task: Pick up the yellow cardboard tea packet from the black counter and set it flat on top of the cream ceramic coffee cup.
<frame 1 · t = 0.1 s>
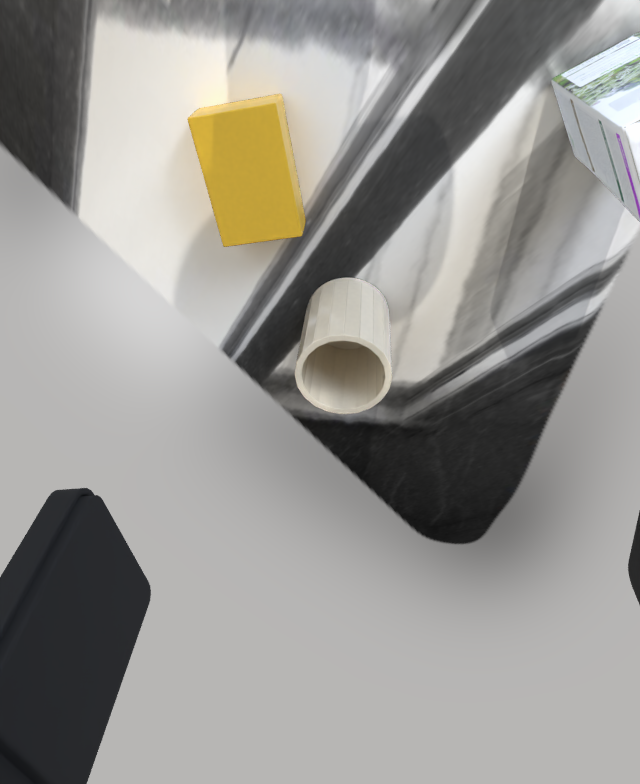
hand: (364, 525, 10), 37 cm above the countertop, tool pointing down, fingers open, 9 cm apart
packet: (254, 167, 43), on the countertop
syrup box: (603, 95, 38), on the countertop
cup: (347, 315, 50), on the countertop
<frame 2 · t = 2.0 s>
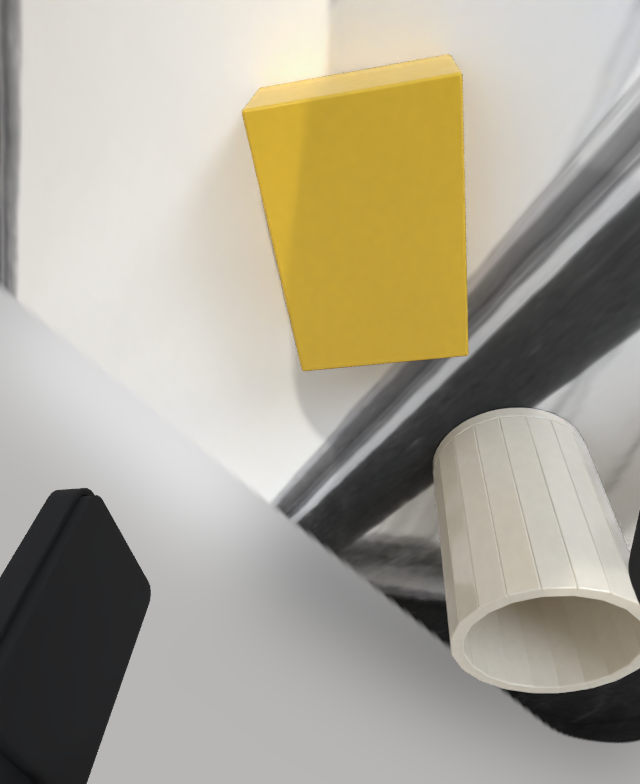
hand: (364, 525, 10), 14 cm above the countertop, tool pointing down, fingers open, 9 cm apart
packet: (369, 212, 21), on the countertop
cup: (507, 464, 28), on the countertop
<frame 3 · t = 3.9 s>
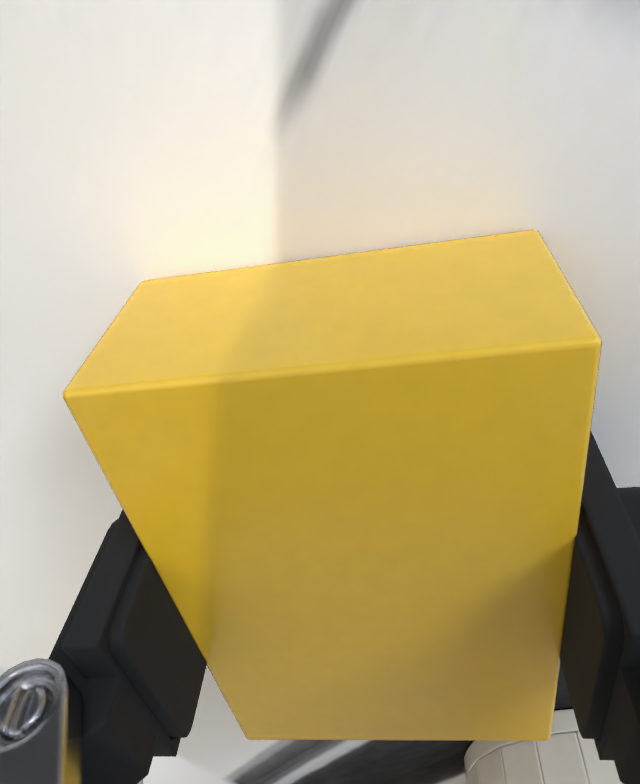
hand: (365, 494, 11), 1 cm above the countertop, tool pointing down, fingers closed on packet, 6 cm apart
packet: (365, 471, 11), on the countertop, touching gripper
cup: (579, 761, 18), on the countertop
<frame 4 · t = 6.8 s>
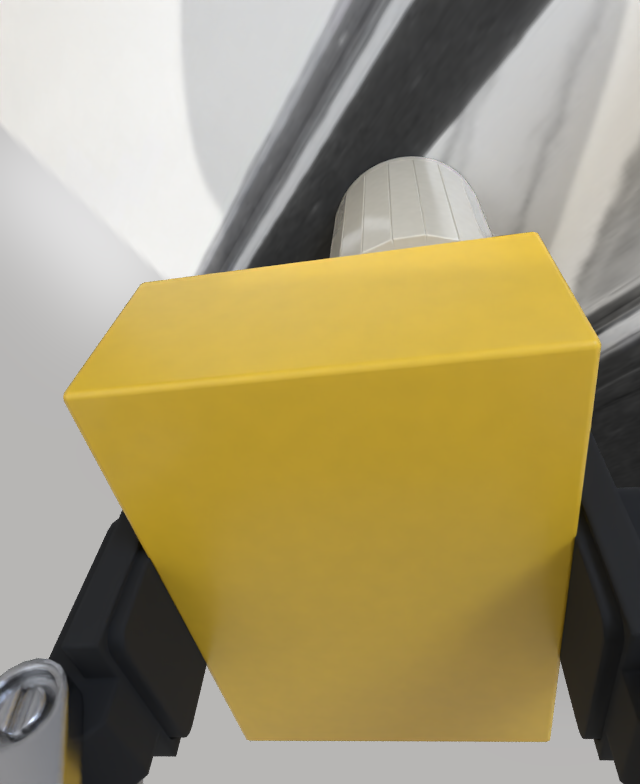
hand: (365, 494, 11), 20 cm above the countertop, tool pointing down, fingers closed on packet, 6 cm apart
packet: (365, 472, 11), point 19 cm above the countertop, touching gripper
cup: (406, 231, 28), on the countertop
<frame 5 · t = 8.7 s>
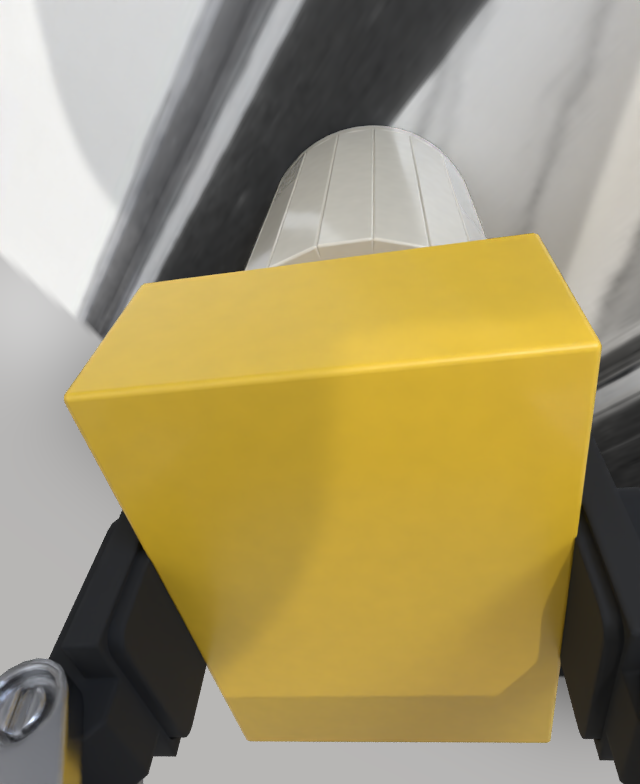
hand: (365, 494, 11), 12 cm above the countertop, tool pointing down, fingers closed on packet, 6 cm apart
packet: (366, 473, 11), point 11 cm above the countertop, touching gripper
cup: (369, 232, 20), on the countertop
when the fingers open (10 cm above the countertop, at t = 9.9 s): packet stays where it is, resting on cup.
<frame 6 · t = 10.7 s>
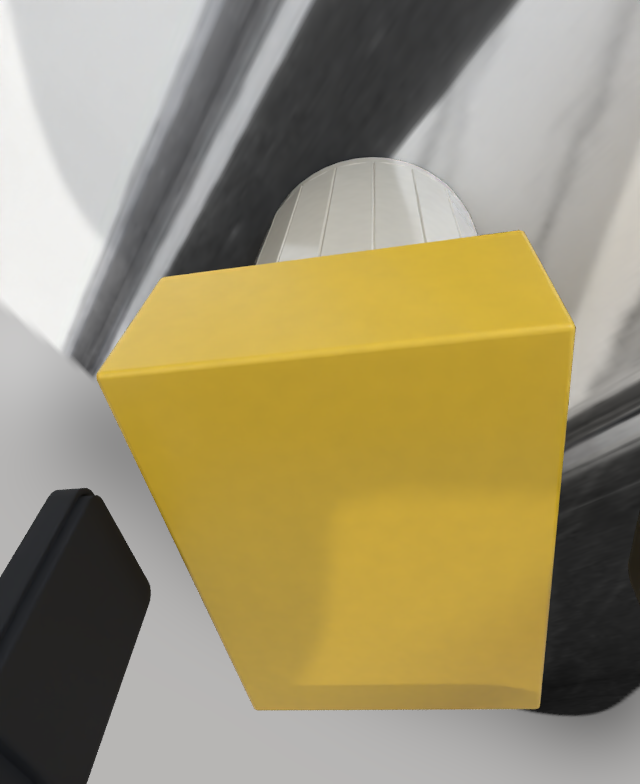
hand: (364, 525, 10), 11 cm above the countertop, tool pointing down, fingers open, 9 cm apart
packet: (366, 456, 12), point 9 cm above the countertop, touching cup
cup: (369, 267, 19), on the countertop, touching packet
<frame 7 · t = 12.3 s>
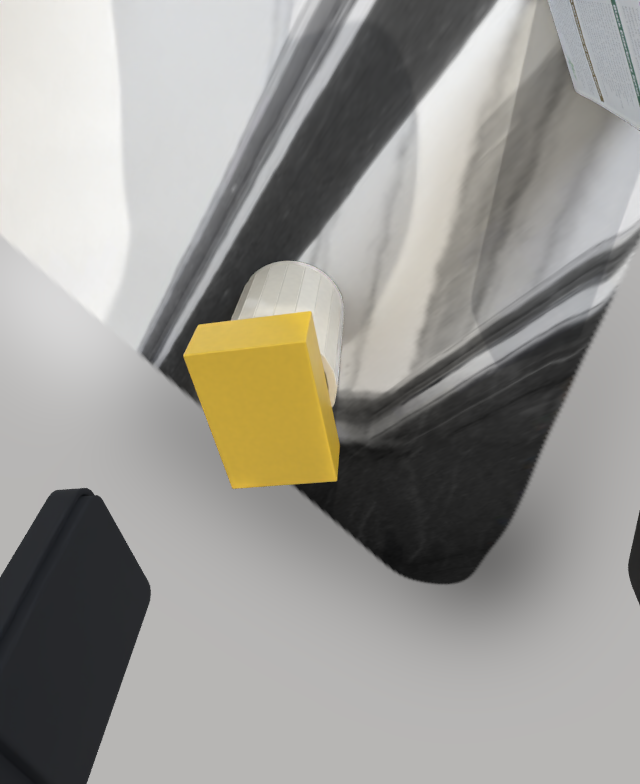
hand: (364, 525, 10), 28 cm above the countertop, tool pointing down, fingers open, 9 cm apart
packet: (273, 388, 32), point 9 cm above the countertop, touching cup
syrup box: (614, 5, 28), on the countertop
cup: (292, 309, 39), on the countertop, touching packet
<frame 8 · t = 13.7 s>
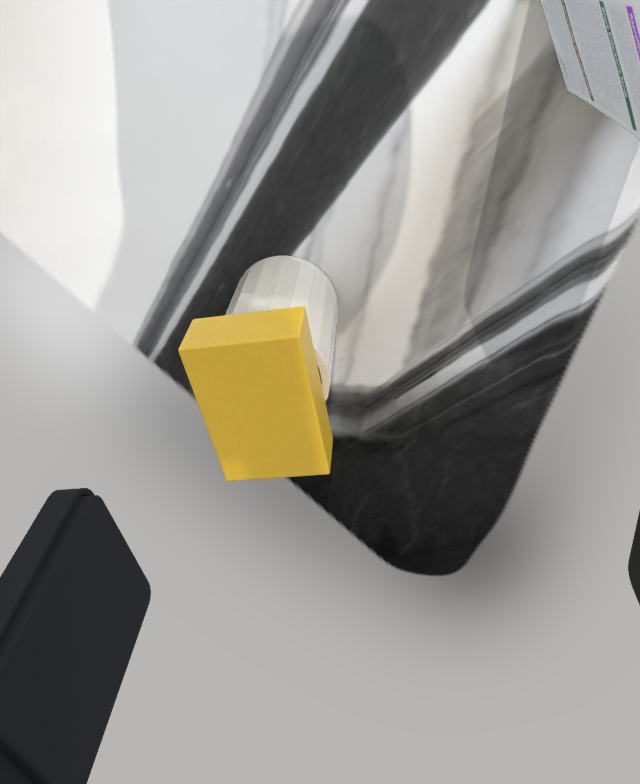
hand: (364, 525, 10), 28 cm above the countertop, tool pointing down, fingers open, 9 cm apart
packet: (267, 382, 33), point 9 cm above the countertop, touching cup
syrup box: (606, 4, 29), on the countertop
cup: (286, 303, 40), on the countertop, touching packet
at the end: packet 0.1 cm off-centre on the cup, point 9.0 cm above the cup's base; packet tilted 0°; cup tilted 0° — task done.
